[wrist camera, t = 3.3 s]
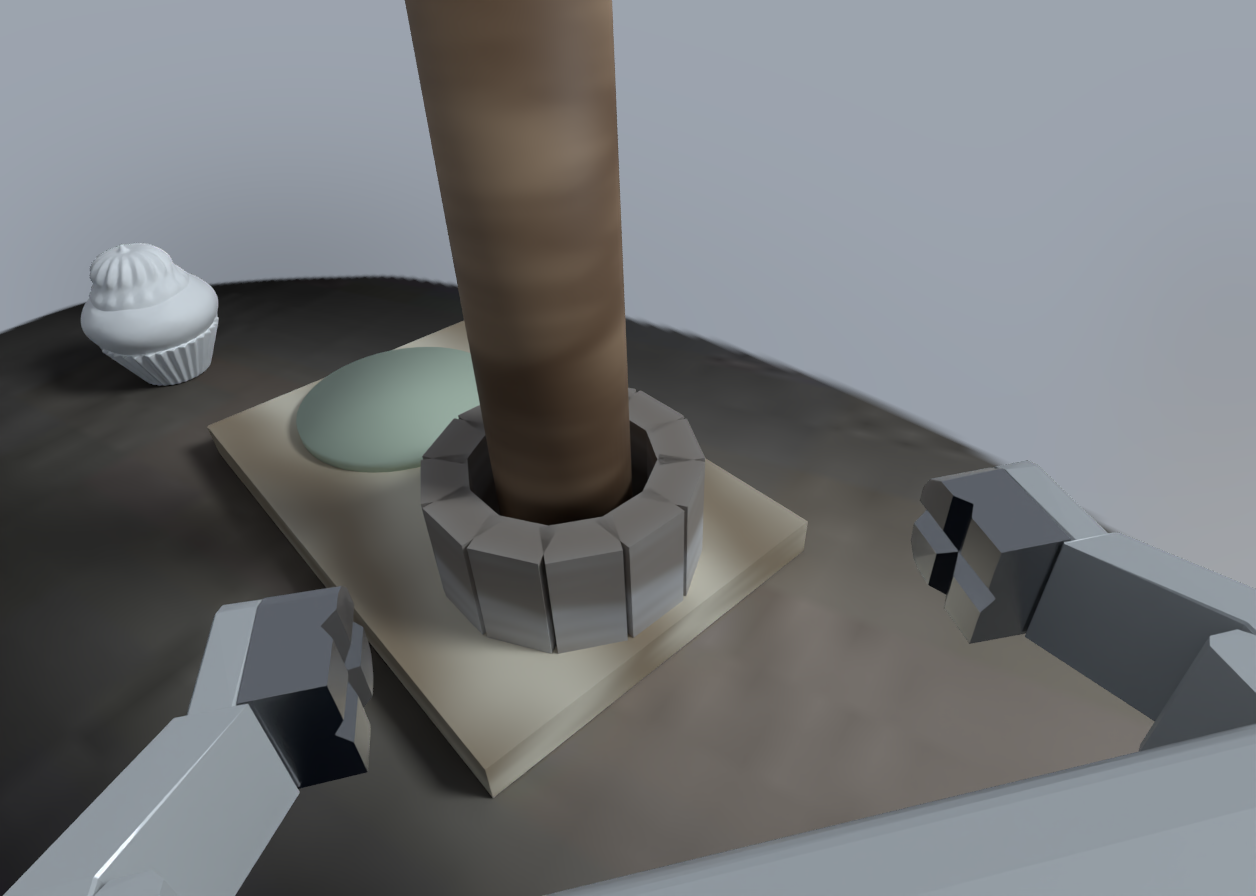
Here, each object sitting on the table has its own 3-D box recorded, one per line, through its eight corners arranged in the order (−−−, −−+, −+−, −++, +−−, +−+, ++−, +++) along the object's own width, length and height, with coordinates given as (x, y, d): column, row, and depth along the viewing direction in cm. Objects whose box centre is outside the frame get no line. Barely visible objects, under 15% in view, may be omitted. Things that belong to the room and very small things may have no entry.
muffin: (223, 395, 39) (167, 265, 35) (94, 409, 38) (21, 278, 34) (252, 334, 44) (206, 214, 40) (138, 346, 43) (78, 225, 39)
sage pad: (358, 503, 30) (354, 494, 30) (267, 407, 35) (263, 398, 35) (544, 408, 34) (543, 399, 34) (439, 336, 40) (437, 327, 40)
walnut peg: (560, 616, 25) (473, -33, 14) (483, 545, 28) (358, -48, 17) (660, 547, 27) (653, -58, 16) (580, 487, 30) (527, -67, 19)
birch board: (493, 797, 22) (460, 681, 19) (219, 452, 35) (171, 347, 32) (803, 550, 29) (820, 433, 26) (479, 340, 42) (462, 245, 39)
